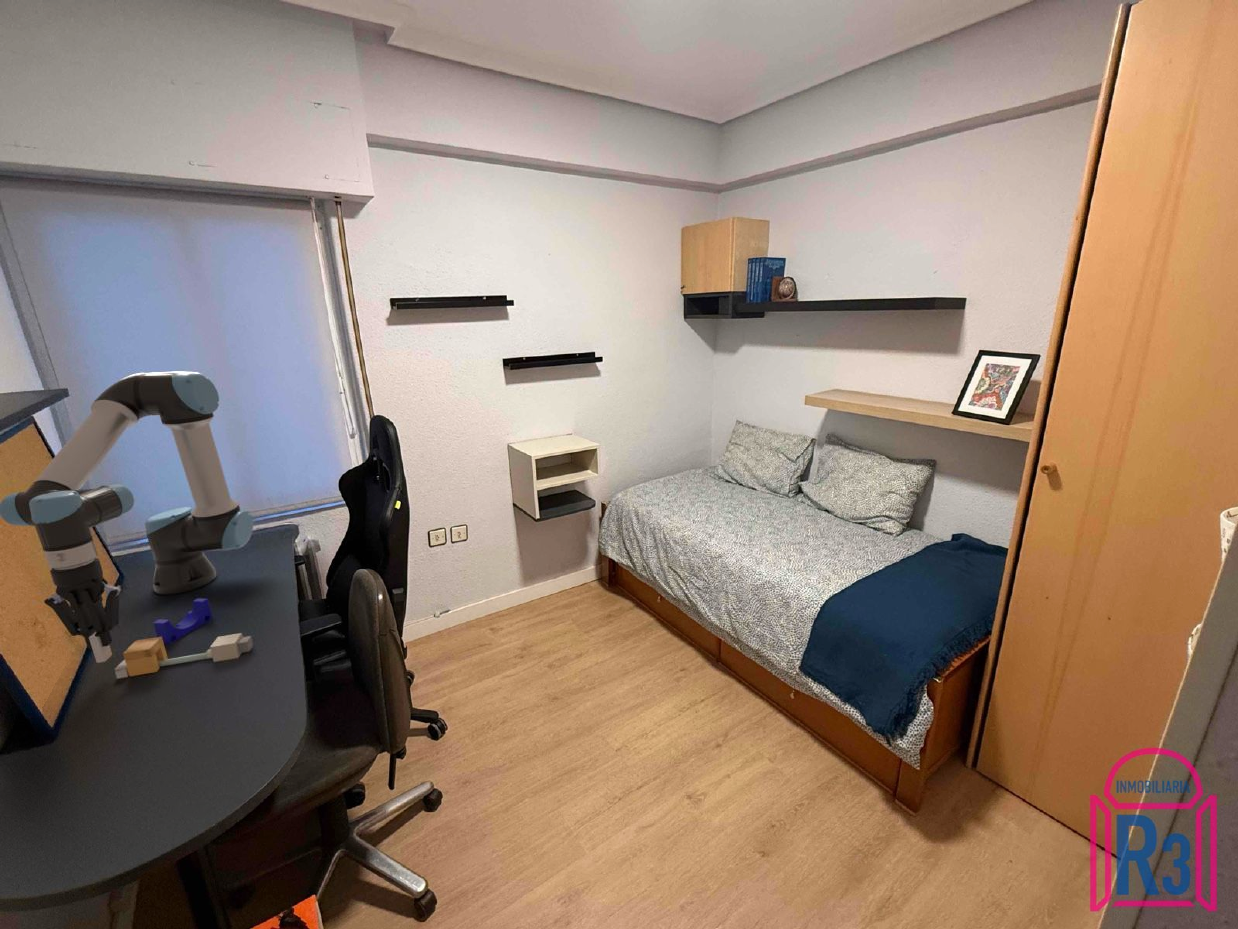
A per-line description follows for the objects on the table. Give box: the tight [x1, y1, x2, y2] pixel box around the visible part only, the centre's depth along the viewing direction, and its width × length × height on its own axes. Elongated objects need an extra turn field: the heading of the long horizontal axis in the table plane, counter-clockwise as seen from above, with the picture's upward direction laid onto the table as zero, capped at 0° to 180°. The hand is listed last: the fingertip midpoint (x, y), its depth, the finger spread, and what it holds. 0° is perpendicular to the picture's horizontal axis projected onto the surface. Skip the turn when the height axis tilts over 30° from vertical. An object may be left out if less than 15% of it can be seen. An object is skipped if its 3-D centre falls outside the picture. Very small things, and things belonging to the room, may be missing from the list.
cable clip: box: [153, 597, 213, 645], centre depth 137 cm, size 12×4×6 cm, turn 170°
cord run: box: [114, 632, 254, 679], centre depth 124 cm, size 26×5×4 cm, turn 107°
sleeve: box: [122, 636, 169, 677], centre depth 122 cm, size 5×5×6 cm
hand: (104, 658), depth 119 cm, fingers closed
